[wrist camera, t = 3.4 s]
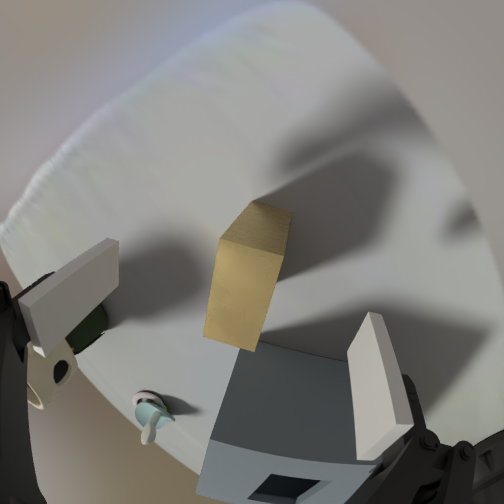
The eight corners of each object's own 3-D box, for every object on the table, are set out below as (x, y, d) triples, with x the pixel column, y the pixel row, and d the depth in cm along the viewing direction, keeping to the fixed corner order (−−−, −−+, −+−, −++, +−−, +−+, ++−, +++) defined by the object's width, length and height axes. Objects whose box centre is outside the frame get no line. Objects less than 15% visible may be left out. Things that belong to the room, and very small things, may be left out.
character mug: (100, 351, 30) (43, 421, 18) (61, 314, 30) (-3, 374, 18) (127, 301, 26) (46, 390, 14) (78, 257, 25) (-14, 322, 13)
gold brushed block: (291, 212, 20) (284, 256, 13) (271, 284, 22) (254, 351, 15) (251, 201, 20) (219, 238, 13) (234, 273, 23) (202, 336, 15)
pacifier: (127, 397, 34) (160, 422, 35) (107, 427, 28) (143, 453, 29) (148, 382, 31) (184, 410, 32) (124, 417, 25) (166, 446, 26)
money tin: (391, 370, 24) (410, 464, 14) (328, 445, 30) (325, 515, 20) (243, 336, 25) (209, 438, 15) (219, 422, 31) (195, 493, 21)
